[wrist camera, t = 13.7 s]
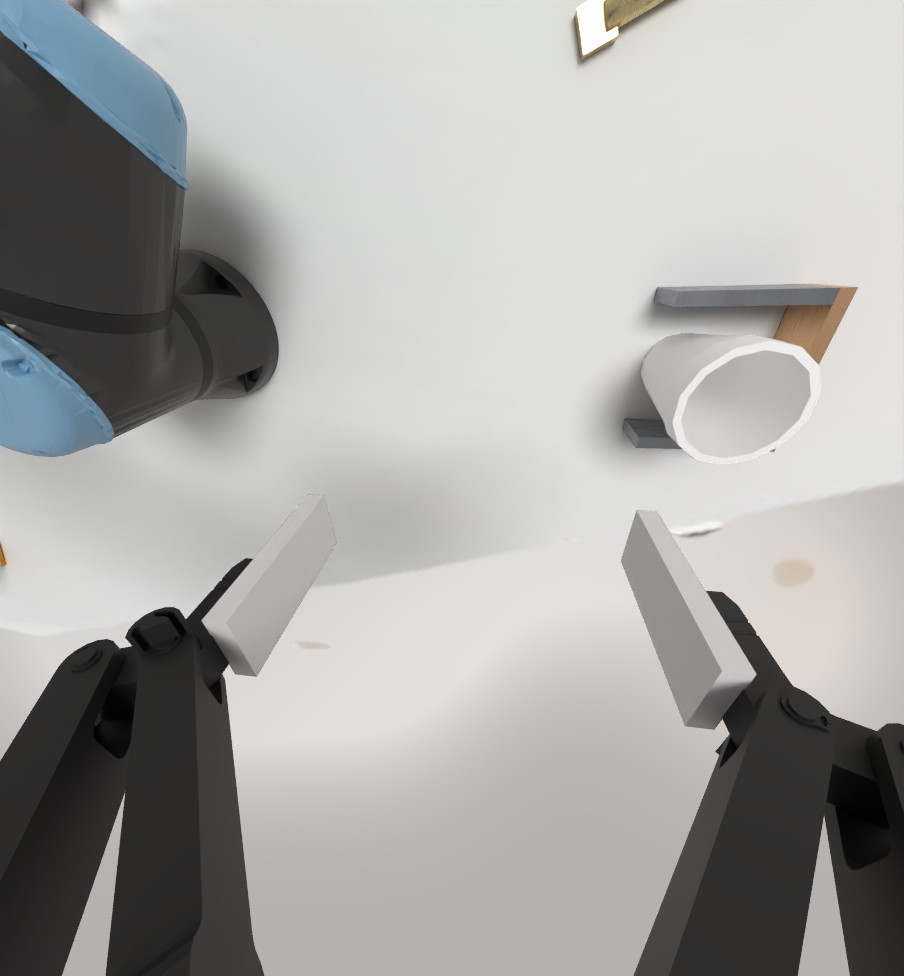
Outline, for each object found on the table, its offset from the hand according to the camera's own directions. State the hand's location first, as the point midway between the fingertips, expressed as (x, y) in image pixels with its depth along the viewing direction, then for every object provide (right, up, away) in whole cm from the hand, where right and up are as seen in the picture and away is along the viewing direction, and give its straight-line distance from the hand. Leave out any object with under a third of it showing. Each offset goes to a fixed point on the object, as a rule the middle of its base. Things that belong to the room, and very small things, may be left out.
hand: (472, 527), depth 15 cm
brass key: (+13, +36, +9) cm, 39 cm away
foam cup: (+22, +15, +22) cm, 35 cm away
